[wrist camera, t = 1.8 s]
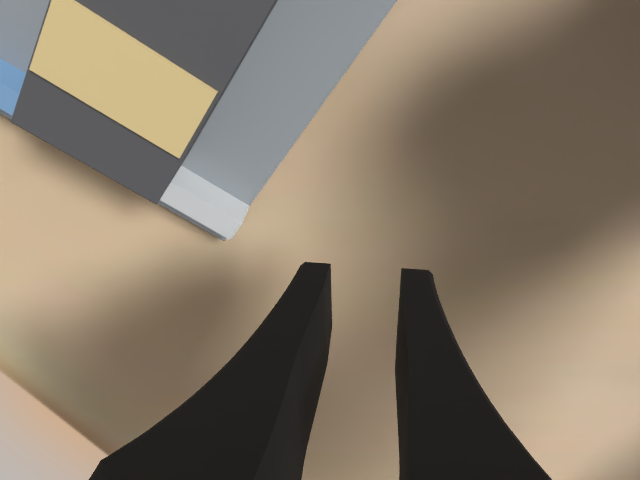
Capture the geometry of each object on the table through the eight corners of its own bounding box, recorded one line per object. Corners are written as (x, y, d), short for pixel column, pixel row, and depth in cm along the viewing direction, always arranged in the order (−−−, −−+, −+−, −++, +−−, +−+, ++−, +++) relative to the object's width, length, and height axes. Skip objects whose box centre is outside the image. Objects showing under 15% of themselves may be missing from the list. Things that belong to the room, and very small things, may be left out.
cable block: (337, -103, 16) (319, -76, 14) (189, 151, 22) (155, 207, 19) (176, -226, 15) (119, -226, 12) (64, 76, 21) (7, 123, 18)
